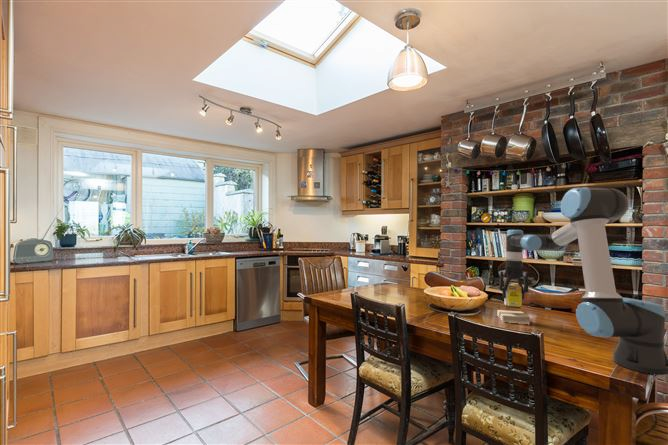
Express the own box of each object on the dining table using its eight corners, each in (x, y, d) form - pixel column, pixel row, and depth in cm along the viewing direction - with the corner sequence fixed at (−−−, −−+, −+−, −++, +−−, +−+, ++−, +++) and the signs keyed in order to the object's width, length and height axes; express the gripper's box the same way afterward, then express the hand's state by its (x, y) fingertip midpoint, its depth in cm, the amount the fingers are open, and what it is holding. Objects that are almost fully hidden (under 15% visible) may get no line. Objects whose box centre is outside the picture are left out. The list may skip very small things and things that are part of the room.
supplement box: (521, 308, 171) (521, 286, 171) (508, 307, 173) (508, 286, 172) (517, 305, 177) (517, 284, 177) (504, 304, 178) (505, 283, 178)
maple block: (529, 325, 168) (529, 317, 168) (503, 323, 170) (503, 315, 170) (521, 318, 179) (521, 311, 179) (496, 317, 182) (497, 309, 182)
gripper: (531, 259, 176) (530, 304, 176) (492, 258, 180) (491, 302, 180) (537, 261, 169) (535, 308, 169) (496, 259, 173) (494, 305, 173)
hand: (512, 304), depth 175 cm, fingers closed on supplement box, 6 cm apart
